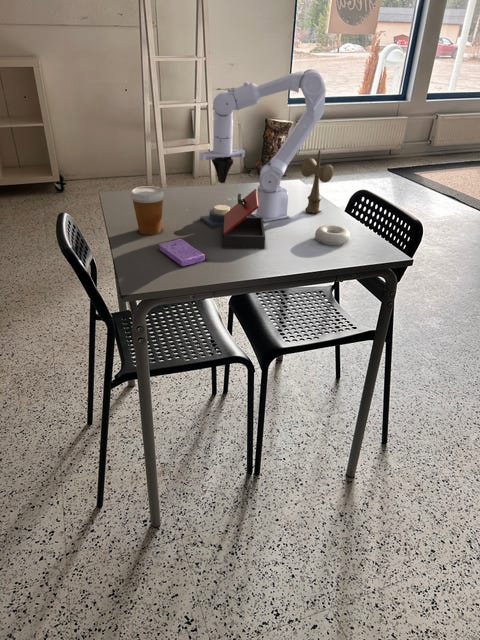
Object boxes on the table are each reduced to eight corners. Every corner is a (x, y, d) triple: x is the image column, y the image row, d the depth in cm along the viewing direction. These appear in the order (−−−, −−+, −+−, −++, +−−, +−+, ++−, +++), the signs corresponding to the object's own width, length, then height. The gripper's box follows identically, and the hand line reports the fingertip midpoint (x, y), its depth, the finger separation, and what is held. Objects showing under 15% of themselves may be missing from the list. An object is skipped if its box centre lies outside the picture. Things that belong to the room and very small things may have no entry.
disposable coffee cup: (151, 239, 140) (148, 198, 134) (126, 232, 144) (122, 191, 138) (173, 229, 147) (171, 189, 141) (148, 222, 151) (145, 183, 145)
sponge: (181, 244, 138) (181, 238, 137) (205, 260, 129) (205, 254, 128) (158, 250, 134) (158, 243, 133) (181, 267, 126) (181, 260, 125)
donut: (346, 250, 138) (351, 236, 146) (348, 238, 136) (353, 225, 144) (311, 244, 141) (318, 231, 149) (312, 233, 139) (319, 220, 147)
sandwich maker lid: (256, 190, 144) (248, 180, 142) (258, 207, 131) (249, 196, 129) (225, 216, 148) (217, 206, 146) (224, 235, 135) (215, 225, 133)
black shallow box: (262, 228, 150) (262, 217, 148) (264, 249, 137) (265, 236, 135) (224, 227, 150) (225, 216, 148) (223, 248, 137) (224, 235, 135)
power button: (225, 209, 156) (225, 203, 155) (232, 214, 153) (232, 208, 152) (211, 211, 154) (211, 206, 153) (218, 216, 150) (218, 210, 149)
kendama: (310, 206, 169) (316, 145, 158) (329, 214, 162) (337, 151, 152) (296, 209, 166) (302, 147, 155) (316, 218, 159) (323, 154, 149)
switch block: (231, 214, 160) (231, 205, 158) (243, 222, 154) (244, 212, 153) (200, 219, 155) (200, 210, 153) (212, 227, 149) (212, 218, 148)
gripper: (237, 132, 153) (235, 176, 160) (195, 135, 147) (195, 181, 154) (249, 137, 148) (246, 182, 155) (205, 140, 141) (205, 187, 149)
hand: (221, 182), depth 154 cm, fingers closed
